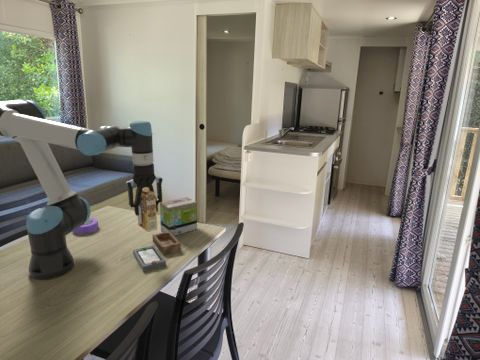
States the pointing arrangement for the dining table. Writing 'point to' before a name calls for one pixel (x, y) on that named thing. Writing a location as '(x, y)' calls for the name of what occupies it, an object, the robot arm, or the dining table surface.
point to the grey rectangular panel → (148, 256)
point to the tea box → (178, 215)
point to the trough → (166, 242)
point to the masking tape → (87, 227)
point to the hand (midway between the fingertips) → (147, 221)
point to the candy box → (148, 210)
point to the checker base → (154, 263)
